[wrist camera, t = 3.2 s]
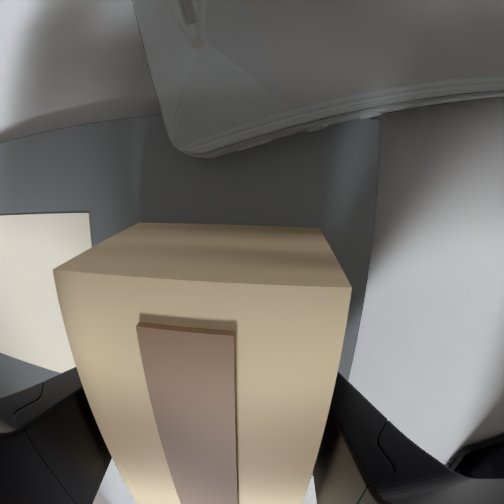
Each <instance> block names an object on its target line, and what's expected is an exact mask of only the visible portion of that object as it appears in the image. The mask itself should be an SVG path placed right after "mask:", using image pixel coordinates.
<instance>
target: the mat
mask: <svg viewBox="0 0 504 504" xmlns="http://www.w3.org/2000/svg"><path fill="white" fill-rule="evenodd" d="M378 160H379V120H376V119H360V118H358V119H353V120H348V121H344V122H340V123H335V124H331V125H328V127H326V128H323V129H320V130H316V131H312V132H306V131H303V132H300V133H296V134H292V135H288V136H285V137H281V138H278V139H274V140H272V141H271V142H267V143H264V144H261V145H257V146H254V147H251V148H248V149H244V150H241V151H235V152H232V153H228V154H225V155H222V156H219V157H216V158H210V159H205V158H198V157H193V156H189V155H186V154H184V153H182V152H180V151H179V150H178V149H177V148H176V147H175V146H174V145H173V144H172V142H171V141H170V139H169V136H168V133H167V130H166V127H165V123H164V120H163V116H162V115H153V116H143V117H133V118H125V119H117V120H110V121H103V122H97V123H90V124H84V125H79V126H73V127H68V128H63V129H58V130H53V131H48V132H43V133H39V134H35V135H30V136H26V137H22V138H18V139H14V140H11V141H7V142H3V143H0V398H1V397H4V396H7V395H10V394H13V393H16V392H19V391H21V390H24V389H26V388H29V387H31V386H34V385H36V384H38V383H40V382H44V381H45V380H47V379H50V378H52V377H54V376H56V375H59V374H61V373H63V372H65V371H68V370H70V369H72V368H74V367H76V365H75V361H74V358H73V355H72V352H71V348H70V345H69V341H68V337H67V334H66V330H65V326H64V322H63V318H62V314H61V309H60V305H59V301H58V296H57V291H56V286H55V281H54V275H53V269H54V268H56V267H58V266H60V265H61V264H63V263H65V262H67V261H68V260H70V259H72V258H74V257H75V256H77V255H79V254H81V253H83V252H84V251H86V250H88V249H90V248H92V247H93V246H95V245H97V244H99V243H101V242H103V241H105V240H106V239H108V238H110V237H112V236H114V235H116V234H118V233H120V232H122V231H124V230H125V229H127V228H129V227H131V226H133V225H135V224H137V223H185V224H225V225H256V226H282V227H306V228H320V230H321V232H322V233H323V235H324V237H325V239H326V240H327V242H328V244H329V246H330V248H331V249H332V251H333V253H334V255H335V257H336V259H337V260H338V262H339V264H340V266H341V268H342V270H343V272H344V273H345V275H346V277H347V279H348V281H349V283H350V285H351V287H352V291H351V298H350V305H349V311H348V318H347V324H346V330H345V335H344V341H343V347H342V352H341V357H340V362H339V367H338V372H339V373H340V374H341V375H342V376H343V377H344V378H345V379H346V380H347V381H348V378H349V374H350V369H351V365H352V360H353V356H354V351H355V346H356V341H357V336H358V331H359V326H360V320H361V315H362V309H363V303H364V297H365V291H366V284H367V277H368V270H369V263H370V255H371V247H372V238H373V229H374V218H375V207H376V194H377V179H378ZM312 476H313V472H312Z"/></svg>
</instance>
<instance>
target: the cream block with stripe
mask: <svg viewBox="0 0 504 504" xmlns="http://www.w3.org/2000/svg"><path fill="white" fill-rule="evenodd" d="M53 275H54V281H55V286H56V291H57V296H58V301H59V305H60V309H61V314H62V318H63V322H64V326H65V330H66V334H67V337H68V341H69V345H70V348H71V352H72V355H73V358H74V361H75V365H76V368H77V371H78V374H79V377H80V380H81V383H82V386H83V389H84V391H85V394H86V397H87V400H88V402H89V405H90V408H91V410H92V413H93V415H94V418H95V420H96V423H97V425H98V427H99V430H100V432H101V434H102V437H103V439H104V441H105V444H106V446H107V448H108V450H109V452H110V454H111V456H112V458H113V461H114V463H115V465H116V467H117V469H118V471H119V473H120V475H121V476H122V478H123V480H124V482H125V484H126V486H127V488H128V490H129V491H130V493H131V495H132V497H133V498H134V500H135V502H136V503H138V504H303V501H304V498H305V495H306V492H307V488H308V485H309V482H310V479H311V476H312V472H313V469H314V465H315V462H316V459H317V455H318V451H319V448H320V444H321V440H322V437H323V433H324V429H325V425H326V421H327V417H328V413H329V409H330V404H331V400H332V396H333V391H334V386H335V382H336V377H337V372H338V367H339V362H340V357H341V352H342V347H343V341H344V335H345V330H346V324H347V318H348V311H349V305H350V298H351V291H352V287H351V285H350V283H349V281H348V279H347V277H346V275H345V273H344V272H343V270H342V268H341V266H340V264H339V262H338V260H337V259H336V257H335V255H334V253H333V251H332V249H331V248H330V246H329V244H328V242H327V240H326V239H325V237H324V235H323V233H322V232H321V230H320V228H306V227H282V226H256V225H225V224H185V223H137V224H135V225H133V226H131V227H129V228H127V229H125V230H124V231H122V232H120V233H118V234H116V235H114V236H112V237H110V238H108V239H106V240H105V241H103V242H101V243H99V244H97V245H95V246H93V247H92V248H90V249H88V250H86V251H84V252H83V253H81V254H79V255H77V256H75V257H74V258H72V259H70V260H68V261H67V262H65V263H63V264H61V265H60V266H58V267H56V268H54V269H53Z"/></svg>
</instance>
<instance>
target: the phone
mask: <svg viewBox="0 0 504 504" xmlns="http://www.w3.org/2000/svg"><path fill="white" fill-rule="evenodd" d="M132 1H133V6H134V10H135V14H136V18H137V22H138V26H139V30H140V34H141V38H142V42H143V46H144V50H145V54H146V58H147V62H148V66H149V69H150V73H151V77H152V80H153V84H154V88H155V91H156V95H157V99H158V102H159V106H160V109H161V113H162V116H163V120H164V123H165V127H166V130H167V133H168V136H169V139H170V141H171V142H172V144H173V145H174V146H175V147H176V148H177V149H178V150H179V151H180V152H182V153H184V154H186V155H189V156H193V157H198V158H205V159H210V158H216V157H219V156H222V155H225V154H228V153H232V152H235V151H241V150H244V149H248V148H251V147H254V146H257V145H261V144H264V143H267V142H271V141H272V140H274V139H278V138H281V137H285V136H288V135H292V134H296V133H300V132H303V131H306V132H312V131H316V130H320V129H323V128H326V127H328V125H331V124H335V123H340V122H344V121H348V120H353V119H358V118H360V119H368V118H372V117H376V116H379V115H381V114H382V113H387V112H392V111H398V110H403V109H409V108H415V107H421V106H427V105H434V104H441V103H448V102H456V101H464V100H473V99H483V98H494V97H504V0H132Z"/></svg>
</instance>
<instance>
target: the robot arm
mask: <svg viewBox="0 0 504 504" xmlns="http://www.w3.org/2000/svg"><path fill="white" fill-rule="evenodd" d="M111 459H112V456H111V454H110V452H109V450H108V448H107V446H106V444H105V441H104V439H103V437H102V434H101V432H100V430H99V427H98V425H97V423H96V420H95V418H94V415H93V413H92V410H91V408H90V405H89V402H88V400H87V397H86V394H85V391H84V389H83V386H82V383H81V380H80V377H79V374H78V371H77V368H76V367H74V368H72V369H70V370H68V371H65V372H63V373H61V374H59V375H56V376H54V377H52V378H50V379H47V380H45V381H44V382H40V383H38V384H36V385H34V386H31V387H29V388H26V389H24V390H21V391H19V392H16V393H13V394H10V395H7V396H4V397H1V398H0V504H92V503H93V501H94V498H95V496H96V494H97V491H98V489H99V487H100V484H101V482H102V480H103V477H104V475H105V472H106V470H107V468H108V466H109V463H110V461H111ZM313 476H314V483H315V491H316V499H317V504H504V435H502V436H499V437H496V438H493V439H490V440H487V441H483V442H480V443H477V444H473V445H470V446H468V447H466V448H465V449H463V450H462V451H461V452H460V454H459V455H458V457H457V458H456V460H455V461H454V463H453V464H452V465H451V467H450V468H448V467H446V466H445V465H444V464H442V463H441V462H439V461H438V460H437V459H435V458H434V457H432V456H431V455H430V454H428V453H427V452H425V451H424V450H423V449H421V448H420V447H419V446H417V445H416V444H415V443H414V442H412V441H411V440H410V439H408V438H407V437H406V436H405V435H404V434H403V433H402V432H401V431H399V430H398V429H397V428H396V427H395V426H394V425H393V424H392V423H391V422H390V421H387V418H385V417H384V416H383V415H382V414H381V413H380V412H379V411H378V410H377V409H376V408H375V407H374V406H373V405H372V404H371V403H370V402H369V401H368V400H367V399H366V398H365V397H364V396H363V395H362V394H361V393H360V392H359V391H358V390H357V389H355V388H354V387H353V386H352V385H351V384H350V383H349V382H348V381H347V380H346V379H345V378H344V377H343V376H342V375H341V374H340V373H339V372H337V377H336V382H335V386H334V391H333V396H332V400H331V404H330V409H329V413H328V417H327V421H326V425H325V429H324V433H323V437H322V440H321V444H320V448H319V451H318V455H317V459H316V462H315V465H314V469H313Z"/></svg>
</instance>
